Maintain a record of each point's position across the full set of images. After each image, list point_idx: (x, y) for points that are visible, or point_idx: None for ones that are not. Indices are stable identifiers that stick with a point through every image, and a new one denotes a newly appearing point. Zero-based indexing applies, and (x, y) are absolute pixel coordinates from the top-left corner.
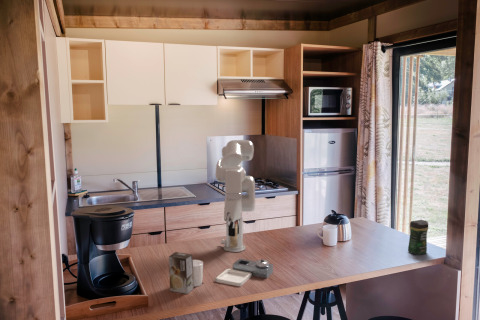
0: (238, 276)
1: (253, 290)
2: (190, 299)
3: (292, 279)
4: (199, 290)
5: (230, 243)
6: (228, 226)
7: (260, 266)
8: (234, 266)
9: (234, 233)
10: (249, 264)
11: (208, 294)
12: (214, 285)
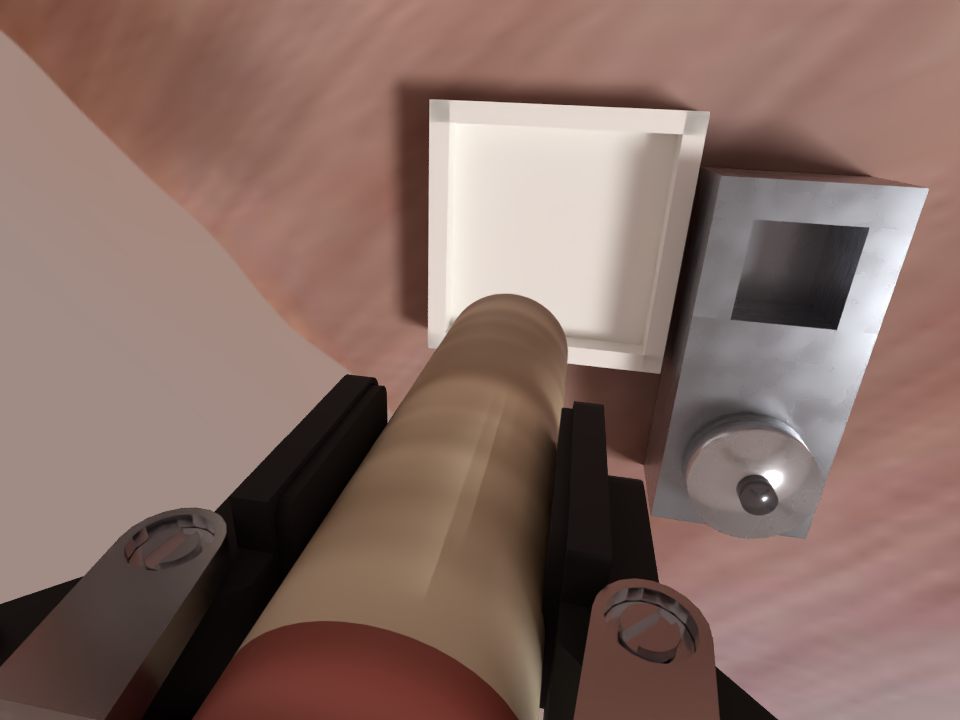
0: (610, 260)
1: None
2: (125, 49)
3: (708, 605)
4: (273, 33)
5: (449, 331)
6: (69, 588)
7: (685, 469)
8: (712, 194)
9: None
10: (749, 349)
11: (255, 144)
12: (407, 114)
